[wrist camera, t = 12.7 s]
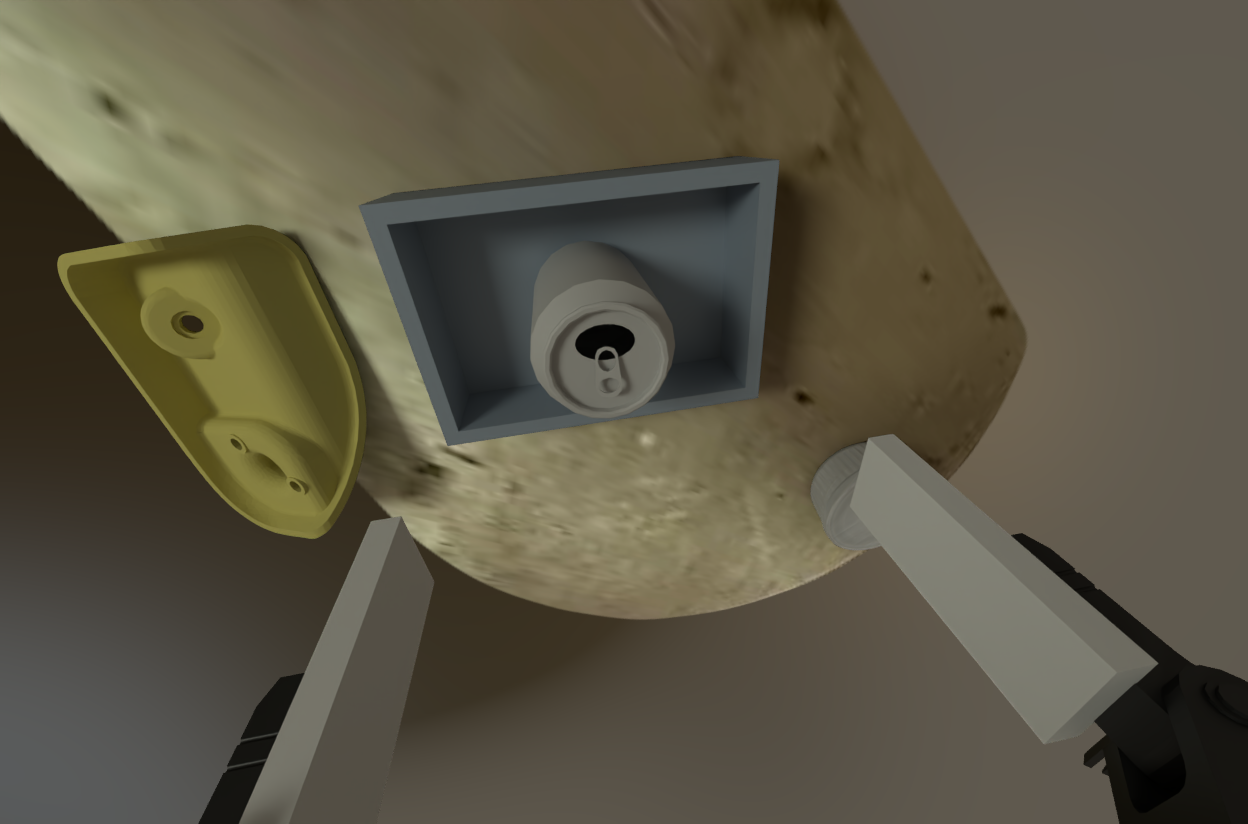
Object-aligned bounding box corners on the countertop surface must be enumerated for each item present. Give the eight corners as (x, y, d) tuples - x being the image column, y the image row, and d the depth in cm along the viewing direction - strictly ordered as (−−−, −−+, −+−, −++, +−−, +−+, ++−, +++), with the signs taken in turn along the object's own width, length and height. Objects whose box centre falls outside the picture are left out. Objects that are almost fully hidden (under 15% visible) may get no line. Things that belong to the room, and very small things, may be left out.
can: (638, 234, 30) (686, 283, 20) (640, 338, 34) (681, 423, 24) (526, 242, 29) (516, 296, 19) (541, 347, 33) (540, 439, 23)
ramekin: (854, 524, 51) (884, 561, 46) (779, 501, 47) (803, 539, 43) (923, 449, 46) (964, 482, 42) (846, 417, 42) (881, 450, 38)
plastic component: (41, 257, 24) (146, 239, 21) (189, 235, 30) (289, 218, 27) (239, 526, 34) (334, 543, 30) (322, 468, 40) (409, 477, 36)
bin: (393, 193, 27) (358, 205, 22) (738, 156, 29) (779, 159, 24) (461, 401, 35) (447, 445, 30) (728, 362, 37) (758, 397, 32)
